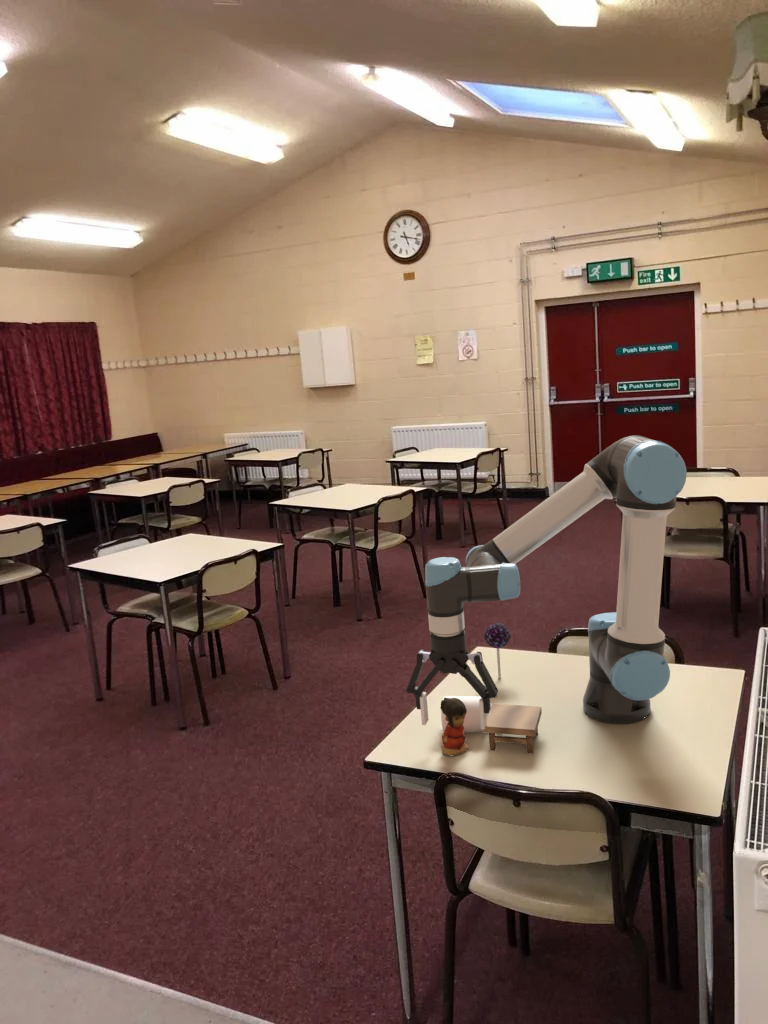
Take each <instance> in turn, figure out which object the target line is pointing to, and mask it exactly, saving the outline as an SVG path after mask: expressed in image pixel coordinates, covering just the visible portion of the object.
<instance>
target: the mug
mask: <svg viewBox="0 0 768 1024" xmlns="http://www.w3.org/2000/svg"><path fill="white" fill-rule="evenodd" d="M445 697H446V698H458V699H460V700H461V701H462V702H463V703H464V704H465V707H466V709H467V712H466V715H465V718H464V723H463V727H464V729H463V732H464V733H478V734H479V733H481V734H482V733H484V730H483V729H481V722H480V707H479V700H480V698H481V696H480V695H478V696H476V695H475V696H474V695H473V696H472V695H471V696H470V695H469V696H467V695H465V696H464V695H444V696H443V697H442V699H441V701H442V700H444V698H445ZM440 710H441V709H440ZM440 715H441V716H440V718H441V728H442V731H443V732H444V730H445V728H446V726H447V723H448V721H446V720H445V718H446V715H445V714H444V713H443V712H442V710H441V711H440ZM487 716H488V714H487V713H486V718H487ZM484 734H485V733H484Z"/></svg>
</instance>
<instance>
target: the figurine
mask: <svg viewBox="0 0 768 1024" xmlns="http://www.w3.org/2000/svg"><path fill="white" fill-rule="evenodd" d="M440 701H441V702H440V710H442V712H443V713H444V714H445V715H446V718H445V720H446V721H448V723H447V726H446V728H445V730H444V731H443V734H442V737H441V744H442V745H443V746H442V749H441V751H442V753H443V754H445V755H447V756H451V757H452V756H457V755H461V754H464V753H466V752H468V751H469V750H470V748H469V747H468V745H467V744H466V736H465V735H466V734H465V732H463V729H464V727H463V723H464V718H465V715H466V712H467V709H466V707H465V704H464V703H463V702H462V701H461V700H460V699H458V698H446V697H445V698H444V700H442V699H441V700H440Z"/></svg>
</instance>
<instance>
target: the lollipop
mask: <svg viewBox="0 0 768 1024" xmlns="http://www.w3.org/2000/svg"><path fill="white" fill-rule="evenodd" d="M511 637H512V636H511V632H510V630H509V628H508V627H507V626H506V625H504V624H502V623H499V622H494V623H491V624H490V625H488V626H487V627H486V629H485V632H484V633H483V638H484V640H485V641H486V643H487V645H488V646H490V647H491V648H495V649H496V657H497V659H496V660H497V674H498V675H497V676H498V679H501V678H502V673H501V657H500V656H501V655H500V654H501V653H500V649H502V648H503V647H505V646H507V644H508V643H509V641H510V639H511Z"/></svg>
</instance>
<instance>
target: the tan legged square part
mask: <svg viewBox="0 0 768 1024" xmlns="http://www.w3.org/2000/svg"><path fill="white" fill-rule="evenodd" d="M490 707H491V709H490V711H489V714H488V716H487V725H486V727H485V729H483V730H484V734H485V733H486V734H488V741H489V742H488V743H489V745H488V746H489V751H496V750H497V743H498V742H499V743H507V744H508V743H511V744H520V745H521V744H523V745H525V747H526V753H527V754H530V755H531V754H534V742H533V741H534V740H533V738H534V737H536V736H538V735H539V728H538V727H539V724H540V721H541V716H542V706H539V705H538V706H536V705H535V706H533V705H518V704H505V703H504V704H503V703H492V704H491V705H490ZM498 734H499V735H498ZM506 735H510V736H506ZM511 735H512V736H511ZM518 736H523V737H518Z"/></svg>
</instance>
